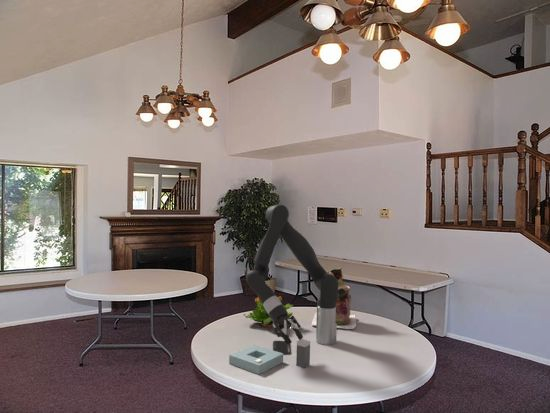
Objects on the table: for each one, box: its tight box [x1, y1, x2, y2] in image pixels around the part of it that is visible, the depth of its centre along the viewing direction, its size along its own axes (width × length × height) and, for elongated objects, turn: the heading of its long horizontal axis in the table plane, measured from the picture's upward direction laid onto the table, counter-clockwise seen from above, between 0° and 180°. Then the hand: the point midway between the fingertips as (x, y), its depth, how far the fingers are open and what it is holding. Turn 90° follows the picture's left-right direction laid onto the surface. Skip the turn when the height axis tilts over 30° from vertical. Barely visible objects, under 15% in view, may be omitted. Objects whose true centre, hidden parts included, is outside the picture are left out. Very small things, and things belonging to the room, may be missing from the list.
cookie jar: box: [311, 266, 357, 330], centre depth 219 cm, size 25×25×32 cm
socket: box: [228, 344, 284, 375], centre depth 159 cm, size 16×16×4 cm
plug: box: [295, 338, 311, 369], centre depth 158 cm, size 4×4×10 cm
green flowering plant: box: [243, 296, 294, 328], centre depth 212 cm, size 25×24×18 cm
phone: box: [272, 340, 291, 355], centre depth 177 cm, size 8×1×15 cm
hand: (295, 341), depth 160 cm, fingers open, 8 cm apart
